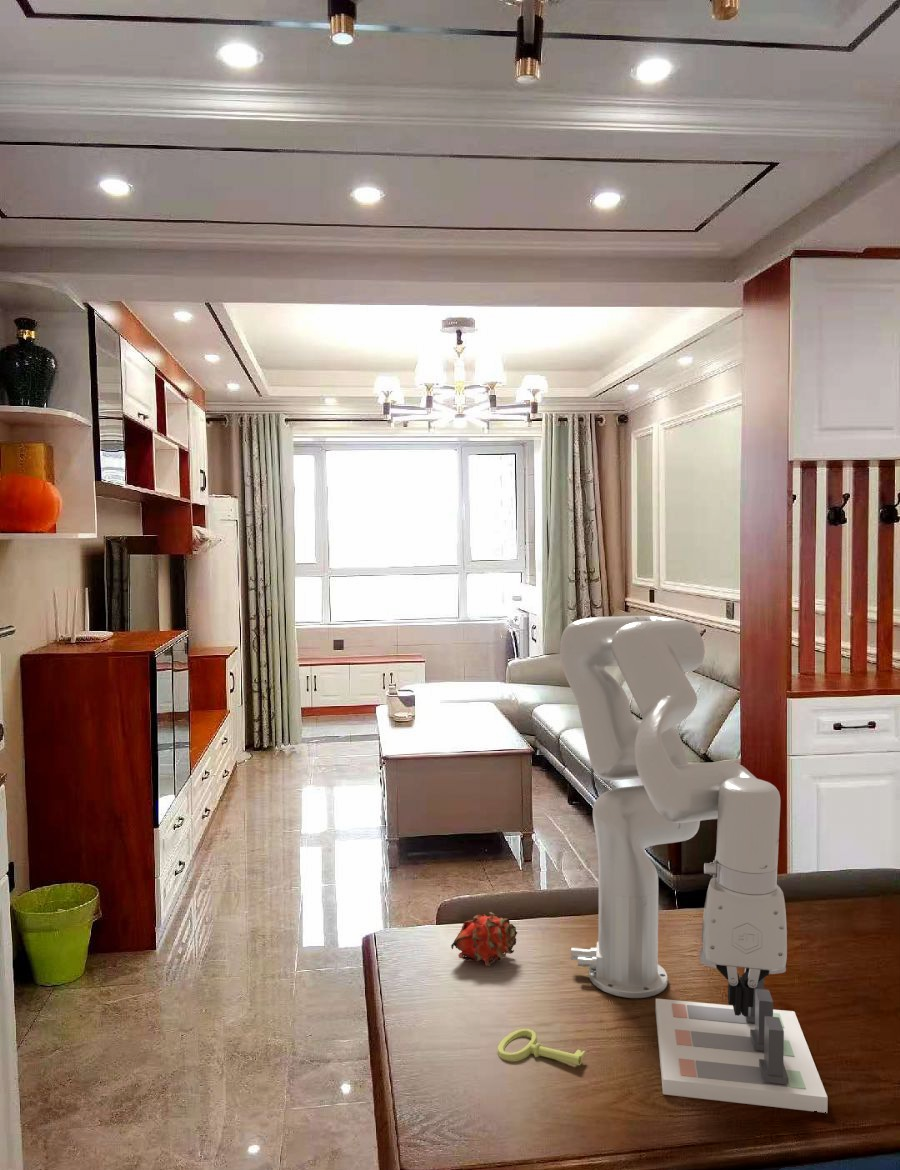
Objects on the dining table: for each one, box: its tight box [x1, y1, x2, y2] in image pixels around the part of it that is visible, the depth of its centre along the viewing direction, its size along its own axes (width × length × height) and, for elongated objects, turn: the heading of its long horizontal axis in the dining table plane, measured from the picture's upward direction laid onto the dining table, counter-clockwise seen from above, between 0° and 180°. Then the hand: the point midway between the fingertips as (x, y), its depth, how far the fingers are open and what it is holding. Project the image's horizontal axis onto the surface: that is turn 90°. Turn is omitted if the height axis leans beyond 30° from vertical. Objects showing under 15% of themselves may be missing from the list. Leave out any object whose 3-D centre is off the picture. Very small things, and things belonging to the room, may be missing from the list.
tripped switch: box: [759, 1016, 788, 1084], centre depth 111 cm, size 3×4×7 cm
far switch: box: [745, 977, 765, 1022], centre depth 124 cm, size 3×4×7 cm
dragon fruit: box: [450, 911, 519, 967], centre depth 146 cm, size 8×8×12 cm
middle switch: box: [750, 988, 774, 1051], centre depth 117 cm, size 3×4×7 cm
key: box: [496, 1028, 586, 1066], centre depth 120 cm, size 7×12×2 cm, turn 76°
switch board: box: [655, 998, 829, 1114], centre depth 118 cm, size 20×20×2 cm
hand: (739, 1009), depth 112 cm, fingers closed
